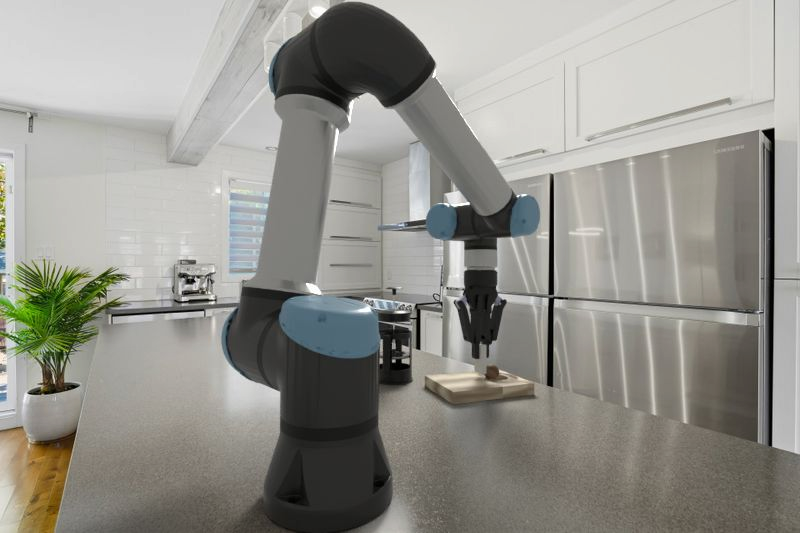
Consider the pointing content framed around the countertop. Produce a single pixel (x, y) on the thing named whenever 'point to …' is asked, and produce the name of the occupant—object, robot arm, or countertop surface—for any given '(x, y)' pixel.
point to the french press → (395, 347)
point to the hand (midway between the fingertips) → (480, 372)
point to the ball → (491, 371)
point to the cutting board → (477, 386)
